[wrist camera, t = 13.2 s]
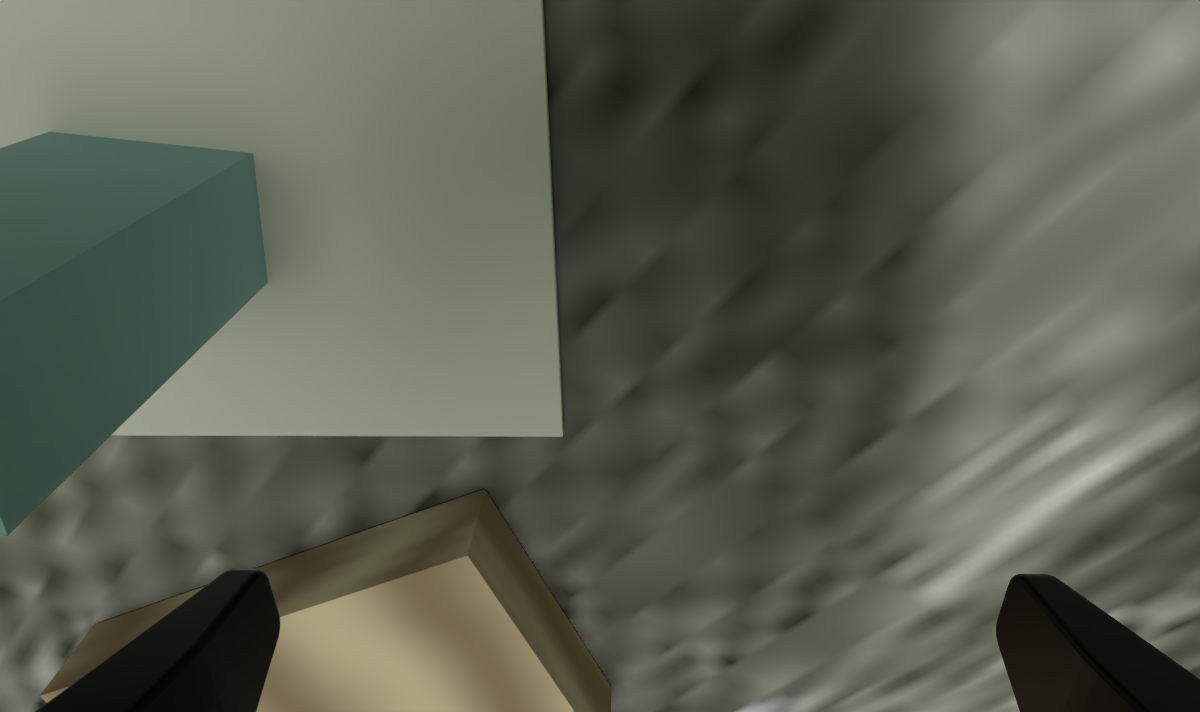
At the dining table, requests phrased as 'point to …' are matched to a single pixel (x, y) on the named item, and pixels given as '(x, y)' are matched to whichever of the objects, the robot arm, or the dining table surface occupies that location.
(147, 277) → the tall teal block
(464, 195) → the mat
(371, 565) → the plate
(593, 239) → the dining table surface
